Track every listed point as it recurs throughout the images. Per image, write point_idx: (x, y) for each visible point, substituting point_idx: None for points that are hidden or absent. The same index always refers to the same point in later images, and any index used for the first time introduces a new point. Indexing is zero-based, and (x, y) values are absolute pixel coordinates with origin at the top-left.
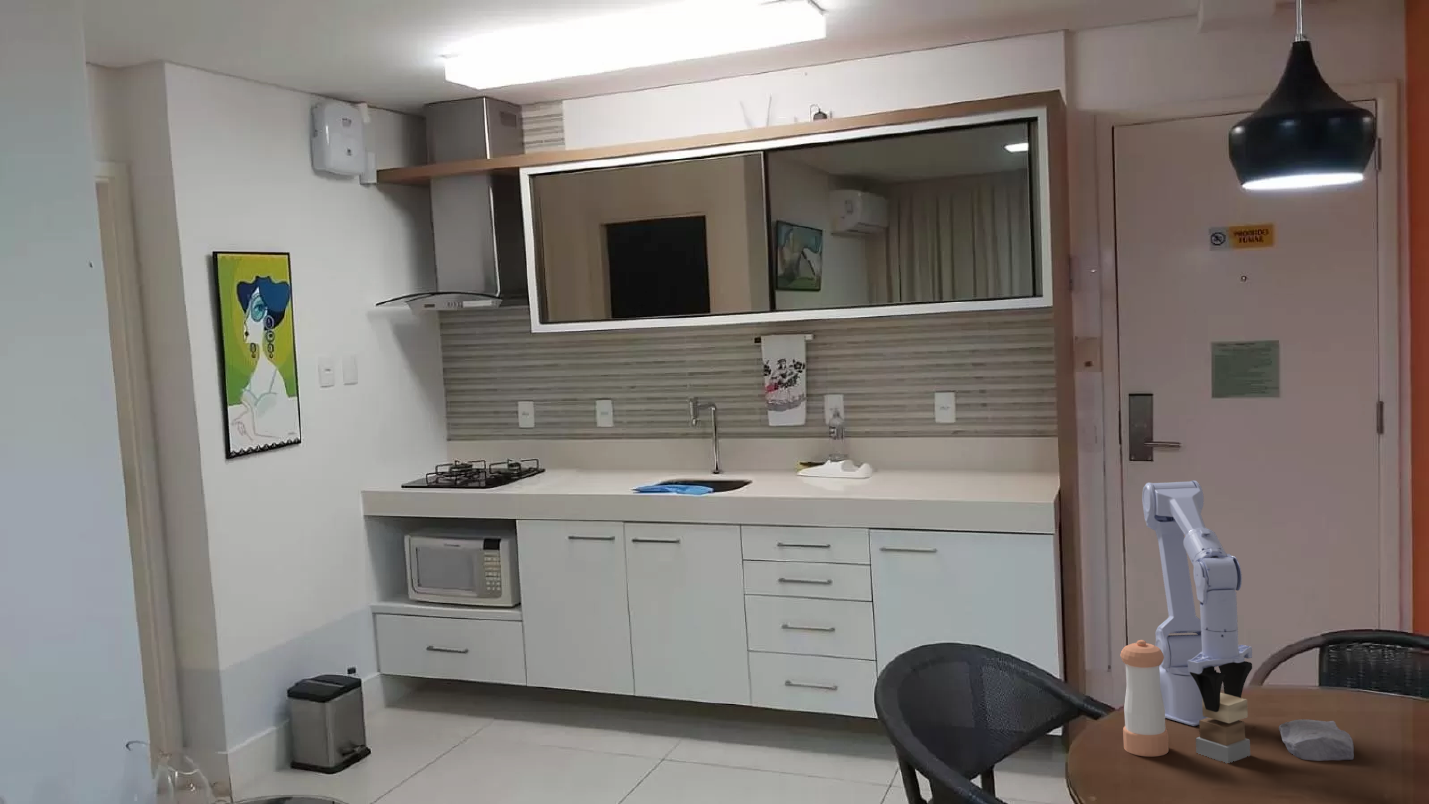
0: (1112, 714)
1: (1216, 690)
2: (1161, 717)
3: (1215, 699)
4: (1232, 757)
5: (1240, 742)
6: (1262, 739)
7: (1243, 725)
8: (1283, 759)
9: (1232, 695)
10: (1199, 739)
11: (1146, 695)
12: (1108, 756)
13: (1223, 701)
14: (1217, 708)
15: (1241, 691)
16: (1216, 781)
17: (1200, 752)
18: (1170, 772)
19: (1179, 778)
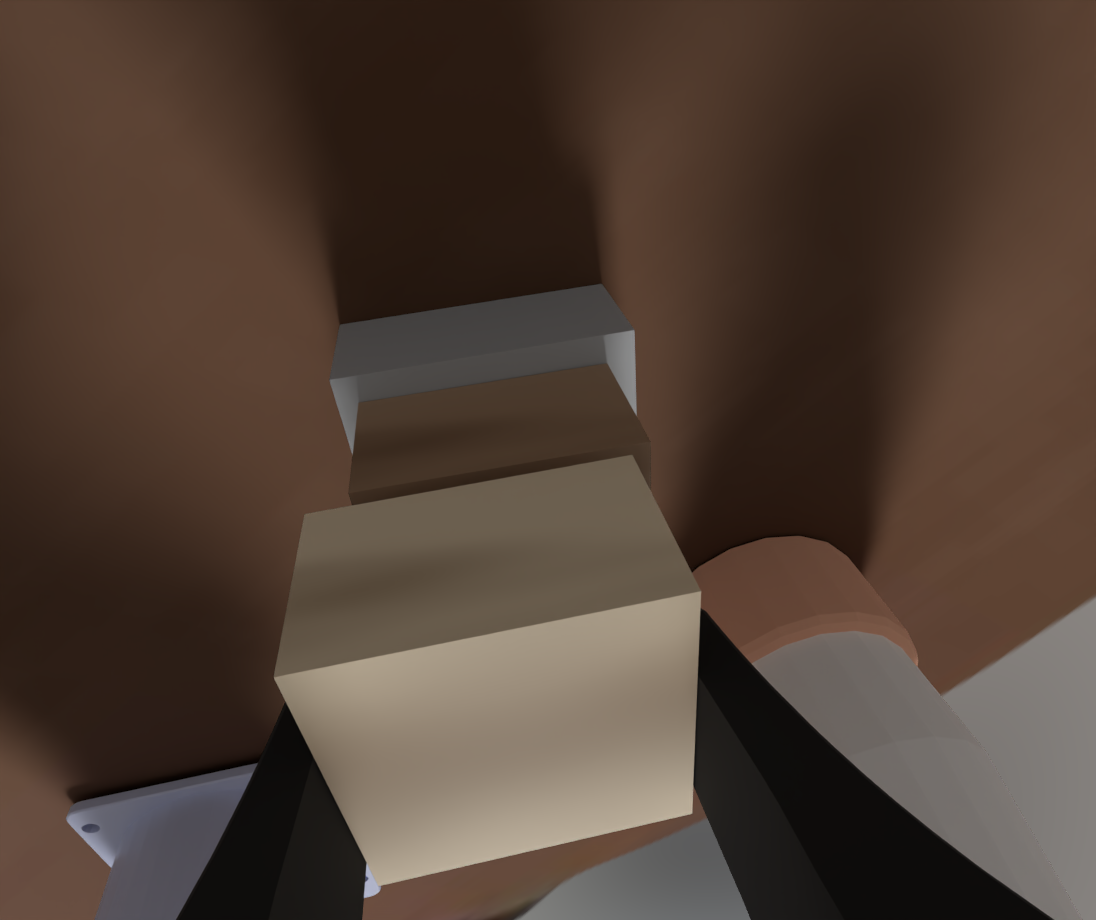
0: (518, 898)
1: (921, 829)
2: (865, 724)
3: (799, 720)
4: (554, 304)
5: (448, 368)
6: (30, 506)
7: (369, 469)
8: (141, 126)
9: (336, 811)
10: None
11: (1062, 906)
12: (946, 609)
13: (605, 707)
14: (709, 631)
15: (241, 837)
16: (950, 70)
17: None
18: (972, 344)
19: (1034, 248)
